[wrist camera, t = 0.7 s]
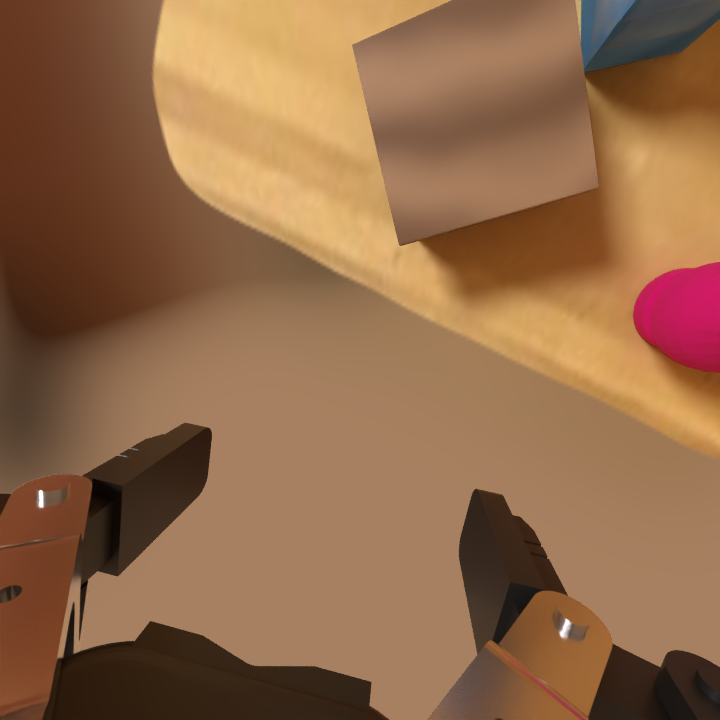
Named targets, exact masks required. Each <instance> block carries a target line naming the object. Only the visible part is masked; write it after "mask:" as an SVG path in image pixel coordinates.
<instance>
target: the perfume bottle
mask: <svg viewBox="0 0 720 720" xmlns="http://www.w3.org/2000/svg"><path fill="white" fill-rule="evenodd" d="M719 19H720V0H582V2H581V50H582V58H583V66H584V73H585V72H589V71H594V70H599V69H603V68H608V67H613V66H617V65H622V64H627V63H631V62H636V61H641V60H645V59H650V58H655V57H659V56H664V55H669V54H673V53H678V52H682V51H683V50H684V49H686V48H687V47H688V46H689V45H690V44H691V43H692V42H694V41H695V40H696V39H697V38H698V37H699V36H700V35H702V34H703V33H704V32H705V31H706V30H707V29H708V28H710V27H711V26H712V25H713V24H714V23H715V22H717V21H718V20H719Z"/></svg>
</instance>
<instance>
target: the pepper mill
mask: <svg viewBox="0 0 720 720" xmlns="http://www.w3.org/2000/svg"><path fill="white" fill-rule="evenodd" d="M633 318H634V324H635V327H636V329H637V331H638V333H639V334H640V335H641V337H642V338H643V339H644V340H646V341H647V342H648V343H650V344H652V345H654V346H656V347H659V348H660V349H661V351H662V352H663V353H664V354H665V355H667V356H668V357H669V358H670V359H672V360H673V361H675V362H677V363H679V364H682V365H684V366H687V367H690V368H694V369H698V370H701V371H706V372H720V262H716V263H711V264H706V265H703V266H700V267H697V268H683V269H677V270H673V271H670V272H667V273H664V274H662V275H661V276H659V277H657V278H655V279H654V280H653V281H652V282H650V283H649V284H648V285H647V286H646V287H645V288H644V289H643V290H642V292H641V293H640V295H639V297H638V299H637V301H636V303H635V306H634V314H633Z"/></svg>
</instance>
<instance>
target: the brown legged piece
mask: <svg viewBox="0 0 720 720" xmlns="http://www.w3.org/2000/svg"><path fill="white" fill-rule="evenodd" d="M352 46H353V50H354V55H355V59H356V63H357V67H358V72H359V76H360V80H361V85H362V89H363V93H364V97H365V102H366V106H367V110H368V114H369V119H370V123H371V127H372V131H373V136H374V140H375V144H376V149H377V153H378V157H379V161H380V166H381V170H382V174H383V178H384V183H385V187H386V191H387V196H388V200H389V204H390V208H391V213H392V217H393V221H394V225H395V230H396V234H397V238H398V242H399V245H401V246H402V245H406V244H409V243H413V242H416V241H420V240H423V239H427V238H430V237H434V236H437V235H441V234H444V233H448V232H451V231H455V230H458V229H461V228H465V227H468V226H472V225H475V224H479V223H482V222H486V221H489V220H493V219H496V218H500V217H503V216H507V215H510V214H513V213H517V212H520V211H524V210H527V209H531V208H534V207H538V206H541V205H545V204H548V203H552V202H555V201H559V200H562V199H565V198H569V197H572V196H576V195H579V194H583V193H586V192H590V191H592V190H594V189H596V188H598V187H599V183H598V175H597V168H596V160H595V152H594V144H593V136H592V128H591V121H590V113H589V105H588V97H587V89H586V81H585V74H584V66H583V58H582V50H581V42H580V35H579V27H578V19H577V11H576V3H575V0H452V1H450V2H447V3H445V4H443V5H441V6H438V7H436V8H434V9H432V10H429V11H427V12H425V13H423V14H420V15H418V16H416V17H414V18H412V19H409V20H407V21H405V22H403V23H400V24H398V25H396V26H394V27H391V28H389V29H387V30H385V31H382V32H380V33H378V34H376V35H373V36H371V37H369V38H367V39H364V40H362V41H360V42H358V43H355V44H353V45H352Z"/></svg>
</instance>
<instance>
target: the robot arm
mask: <svg viewBox="0 0 720 720" xmlns="http://www.w3.org/2000/svg"><path fill="white" fill-rule="evenodd" d="M211 440H212V432H211V430H210V428H207V427H203V426H198V425H194V424H189V423H184V424H181V425H180V426H178V427H177V428H175V429H173V430H171V431H170V432H168V433H167V434H165V435H164V434H162V435H159V436H155V437H152V438H148V439H145V440H144V441H142V442H140V443H138V444H136V445H135V446H133V447H131V449H128V450H126V451H124V452H123V453H121V454H120V455H119V456H116V457H114V458H112V459H111V460H109V461H107V462H105V463H103V464H102V465H100V466H98V467H97V468H95V469H93V470H91V471H90V472H88V473H86V474H84V475H83V476H80V475H74V474H57V475H50V476H46V477H41V478H38V479H35V480H32V481H30V482H27V483H25V484H23V485H21V486H20V487H18V488H17V489H15V490H14V491H13V492H12V494H0V720H389V719H388V718H386V717H385V716H384V715H383V714H381V713H380V712H379V711H377V710H375V709H374V708H372V707H371V706H369V703H370V692H371V682H369V681H366V680H362V679H359V678H355V677H351V676H347V675H344V674H340V673H337V672H333V671H329V670H326V669H322V668H319V667H314V666H313V667H312V666H311V667H309V666H300V667H299V666H252V665H250V664H247V663H246V662H244V661H242V660H241V659H239V658H238V657H236V656H234V655H233V654H231V653H230V652H228V651H226V650H225V649H223V648H222V647H220V646H218V645H217V644H215V643H214V642H212V641H210V640H209V639H207V638H206V637H204V636H202V635H199V634H195V633H191V632H188V631H184V630H180V629H177V628H173V627H170V626H166V625H163V624H159V623H155V622H151V621H150V622H149V624H148V625H147V626H146V627H145V629H144V630H143V631H142V633H141V634H140V635H139V636H138V638H137V639H136V640H135V641H125V642H116V643H110V644H105V645H100V646H96V647H93V648H89V649H86V650H83V651H81V644H82V637H83V629H84V621H85V614H86V605H87V599H88V591H89V578H90V577H91V576H92V575H94V574H95V573H96V572H97V571H99V572H103V573H107V574H111V575H114V576H119V575H120V574H121V573H122V572H123V571H124V570H125V569H126V568H127V567H128V566H129V565H130V564H131V563H132V562H133V561H134V560H135V559H136V558H137V557H138V556H139V555H140V554H141V553H142V552H143V551H144V550H145V549H146V548H147V547H148V546H149V545H150V544H151V543H152V542H153V541H154V540H155V539H156V538H157V537H158V536H159V535H160V534H161V533H162V532H163V531H164V530H165V529H166V528H167V527H168V526H169V525H170V524H171V523H172V522H173V521H174V520H175V519H176V518H177V517H178V516H179V515H180V514H181V513H182V512H183V511H184V510H185V509H186V508H187V507H188V506H189V505H190V504H191V503H192V502H193V501H194V500H195V499H196V498H197V497H198V496H199V495H200V493H201V492H202V490H203V488H204V486H205V483H206V481H207V476H208V468H209V459H210V449H211ZM459 560H460V566H461V571H462V576H463V581H464V587H465V592H466V597H467V601H468V607H469V612H470V618H471V623H472V628H473V633H474V638H475V643H476V648H477V654H478V655H477V656H476V657H475V659H474V660H473V662H472V663H471V664H470V665H469V667H468V668H467V669H466V670H465V672H464V673H463V674H462V676H461V677H460V678H459V679H458V681H457V682H456V683H455V685H454V686H453V687H452V688H451V690H450V691H449V693H448V694H447V695H446V696H445V698H444V699H443V700H442V701H441V703H440V704H439V705H438V706H437V708H436V709H435V710H434V712H433V713H432V714H431V715H430V717H429V718H428V719H427V720H720V667H718V666H717V665H715V664H713V663H712V662H710V661H708V660H706V659H704V658H702V657H700V656H697V655H695V654H692V653H689V652H685V651H679V650H675V651H670V652H668V653H667V655H666V656H665V658H664V660H663V663H662V665H661V667H658V666H656V665H654V664H652V663H650V662H648V661H646V660H644V659H642V658H640V657H638V656H636V655H634V654H632V653H630V652H628V651H626V650H623V649H621V648H620V647H618V646H616V645H614V644H613V643H612V638H611V635H610V633H609V631H608V629H607V627H606V626H605V625H604V623H603V622H602V621H601V620H600V619H599V618H598V616H596V615H595V614H594V613H593V612H592V611H591V610H590V609H589V608H587V607H586V606H584V605H583V604H581V603H580V602H579V601H577V600H575V599H573V598H571V597H569V596H568V595H567V593H566V591H565V589H564V587H563V585H562V583H561V581H560V579H559V578H558V576H557V574H556V572H555V570H554V568H553V566H552V564H551V562H550V560H549V559H547V555H546V553H545V551H544V549H543V547H541V543H540V541H539V539H538V537H537V536H536V534H535V532H534V530H533V529H532V528H531V527H530V526H529V525H528V524H527V523H526V522H525V521H524V520H523V519H522V518H521V517H518V516H514V515H512V513H511V511H510V509H509V507H508V505H507V503H506V501H505V498H504V496H503V495H501V494H496V493H492V492H487V491H483V490H479V489H475V490H474V491H473V494H472V496H471V500H470V504H469V507H468V511H467V515H466V519H465V522H464V526H463V530H462V533H461V538H460V544H459Z"/></svg>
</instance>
